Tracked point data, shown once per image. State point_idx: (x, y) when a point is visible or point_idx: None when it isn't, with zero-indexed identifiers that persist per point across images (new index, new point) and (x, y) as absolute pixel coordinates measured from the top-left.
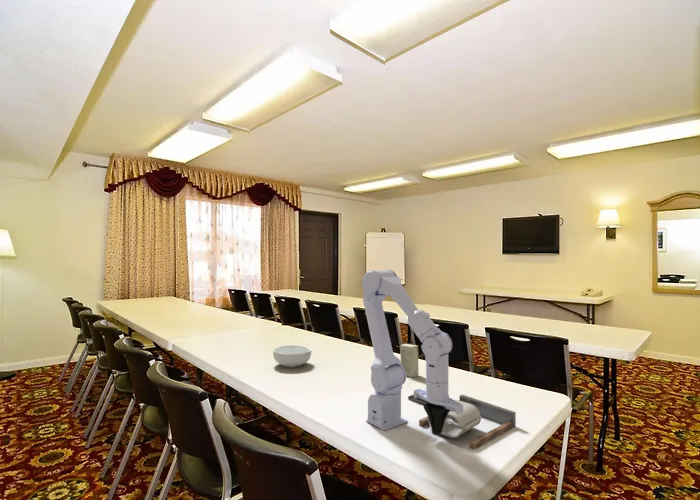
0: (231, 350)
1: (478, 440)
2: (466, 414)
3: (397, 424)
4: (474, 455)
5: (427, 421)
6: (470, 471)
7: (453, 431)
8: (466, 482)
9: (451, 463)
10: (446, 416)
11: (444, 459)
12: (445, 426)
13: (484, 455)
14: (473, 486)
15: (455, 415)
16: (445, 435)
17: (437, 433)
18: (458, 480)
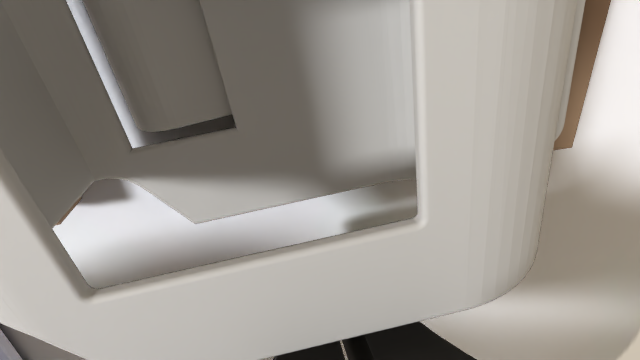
0: None
1: (586, 72)
2: (570, 31)
3: (5, 348)
4: (564, 174)
5: None
6: (592, 284)
7: (343, 101)
8: (601, 335)
9: (505, 309)
10: (430, 333)
11: (466, 315)
12: (224, 83)
13: (612, 124)
14: (628, 330)
15: (508, 257)
16: (337, 189)
17: None
18: (574, 349)
